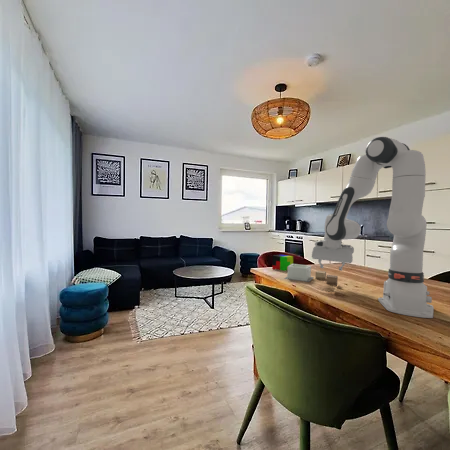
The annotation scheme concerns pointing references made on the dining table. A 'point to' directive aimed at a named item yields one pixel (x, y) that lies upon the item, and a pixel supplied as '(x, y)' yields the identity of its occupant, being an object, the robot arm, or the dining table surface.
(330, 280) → the walnut cube
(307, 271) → the grey box
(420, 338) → the dining table surface
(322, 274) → the oak cube
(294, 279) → the tray
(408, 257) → the robot arm
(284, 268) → the puzzle toy
